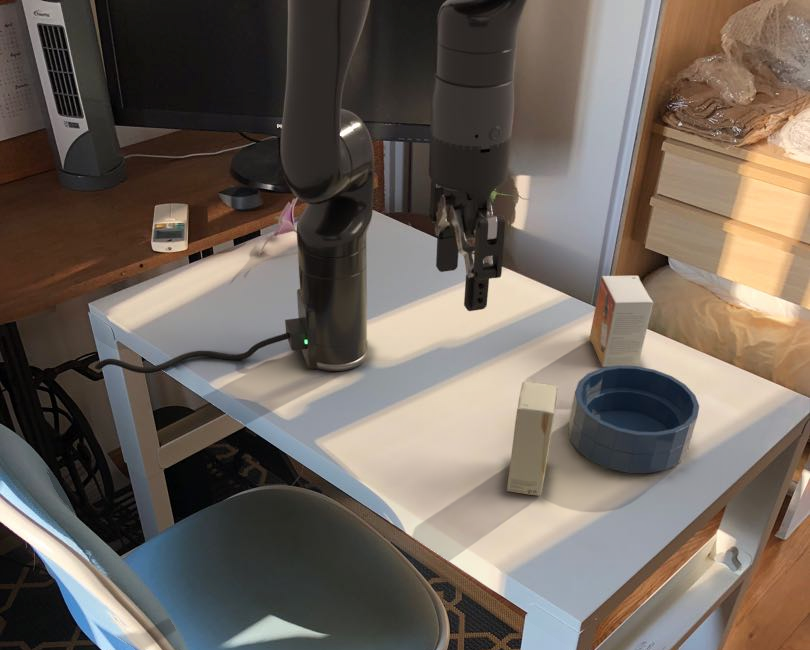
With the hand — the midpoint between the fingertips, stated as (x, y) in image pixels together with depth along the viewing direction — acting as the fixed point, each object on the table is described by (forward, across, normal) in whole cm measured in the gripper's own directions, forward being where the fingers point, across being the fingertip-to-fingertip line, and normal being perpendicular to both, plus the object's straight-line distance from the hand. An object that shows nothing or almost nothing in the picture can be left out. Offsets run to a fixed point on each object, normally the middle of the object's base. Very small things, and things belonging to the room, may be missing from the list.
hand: (460, 288), depth 95 cm
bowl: (+26, -1, +26) cm, 37 cm away
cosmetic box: (+26, +2, +10) cm, 28 cm away
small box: (+27, -21, +34) cm, 48 cm away
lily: (+26, -68, -6) cm, 73 cm away
